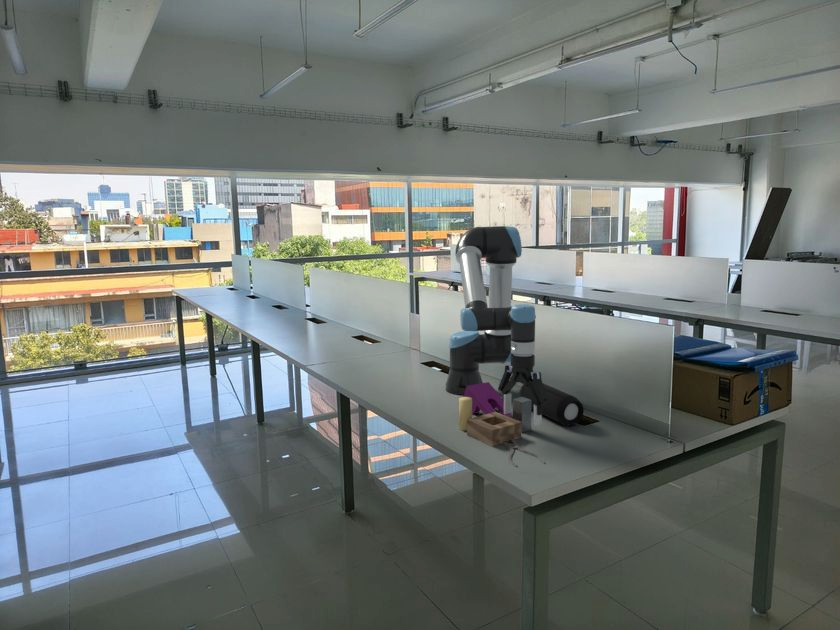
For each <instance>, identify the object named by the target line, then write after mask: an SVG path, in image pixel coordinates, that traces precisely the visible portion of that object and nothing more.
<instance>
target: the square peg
mask: <svg viewBox="0 0 840 630" xmlns="http://www.w3.org/2000/svg"><path fill="white" fill-rule="evenodd" d="M531 404H532V400H530V399H527V398H524V397H520V396H519V397H516V398H512V419H515V420H518V421H520V422H522V428H521V434H522V433H526V432H528V431H532V408H531Z"/></svg>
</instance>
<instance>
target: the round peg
mask: <svg viewBox="0 0 840 630" xmlns="http://www.w3.org/2000/svg"><path fill="white" fill-rule="evenodd" d="M470 418H473V414H472V398H470V397H464V396H462V397H459V398H458V429H459V430H460V431H463V432H467V419H470Z"/></svg>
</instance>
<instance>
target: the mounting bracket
mask: <svg viewBox="0 0 840 630" xmlns="http://www.w3.org/2000/svg"><path fill="white" fill-rule="evenodd" d="M463 397H470V398H472V415H474V414H477V413H480V411H481V413H482V415H486V414H489V413H493V412H497V411H496V410H495V409H497V410H498V413H500V414H502V415H505V416H507V417H510V418H511V417H512V414H513V411H511V413H508V414H504V403H503V396H501V395H500V394H499V392H497V390H496V389H495V388H494V387H493V386H492V384H491V383H490V382H489V381H487V382H483V383H480V384H475V385H469V386H467V387H466V390H465V393H464V394H463Z"/></svg>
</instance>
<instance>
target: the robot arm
mask: <svg viewBox="0 0 840 630" xmlns="http://www.w3.org/2000/svg"><path fill="white" fill-rule="evenodd" d="M522 247H523V246H522V240H521V235H520V232H519V229H517V227H515V226H508V225H497V226H475V227H472V228H470V229H469V230H467V231H465V232H464V233H463V234H462V236H460V238H459V240H458V241H457V244H456V246H455V253H454V255H455V261H456V262H457V263H458V264H459V270H460V278H461V286H462V292H463V300H464V308H462V309H460V315H459V317H460V327H461V330H462V331H461V330H460V331H457V332H455V333H452V334H451V335H450V337H449V346H448V347H449V371H448V376H447V379H446V382H445V391H446V392H448V393H450V394H453V395H464V393H465V390H466V387H467V386H469V385H475V384H480V383H484V382H483V380H482V376H481V373H480V364H481V365H482V364H483V365H484V364H487V365H488V364H507V365H505V366H504V372H503V373H502V374H503V375H502V377H501V379H500V382H499V384H498V387H497V390H498V391H499V392H501V393H502V399H503V403H504V414H508V413H511V412H512V392H511V391H512V389H513V388H514V386H516V384H517V383H520V384H522V385H523V384H525V386H527V388H528V389H529V391H530V393H531V395H532V397H533V399H534V401H535V403H536V404H534V410H533V425H534V426H538V425H541V424H542V419H543V418H542V417H543V404H547V403H549V401H548V398H547V395H546V392H545V389H544V386H543V383H544V382H543V381H542V380H543V379H542V373H541V372H540V371H537V372H535V371H534V367H535V364H536V363H535V361H536V360H535V358H536V356H535V353H536V345H535V344H536V319H537V316H536V307H535V306H533V305H532V304H523V303H521V304H514V305H512V288H513V287H512V284H513V283H512V281H513V266H515V265H516V263H517V259H519V258H521V257H522V252H523V250H522ZM482 259H485V263H486V264H487V265H488V266H489V277H488V278H489V279H488V280H489V288H488V289H489V290H488V300H487V293H486V289H485V282H484V275H483V268H482V264H481V260H482ZM487 301H488V302H487ZM482 331H483V332H484V333H483V334H481V333H480V332H482ZM508 363H510V364H508ZM530 381H531V382H530ZM538 400H539V401H538ZM511 414H512V413H511Z"/></svg>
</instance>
